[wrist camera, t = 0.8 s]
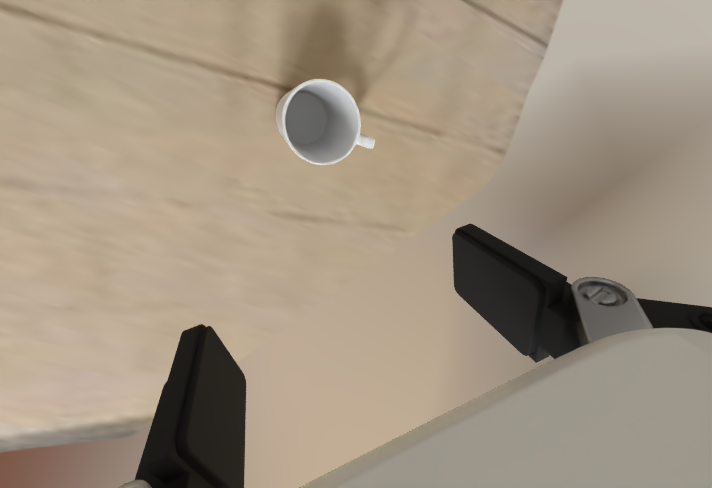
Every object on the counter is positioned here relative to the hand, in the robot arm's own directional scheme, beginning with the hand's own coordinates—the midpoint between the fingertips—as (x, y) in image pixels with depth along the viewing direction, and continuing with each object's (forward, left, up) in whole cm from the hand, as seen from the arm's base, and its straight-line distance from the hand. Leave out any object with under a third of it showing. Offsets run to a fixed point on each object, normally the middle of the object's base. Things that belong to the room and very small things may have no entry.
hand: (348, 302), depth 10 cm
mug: (-6, +1, -29) cm, 30 cm away
